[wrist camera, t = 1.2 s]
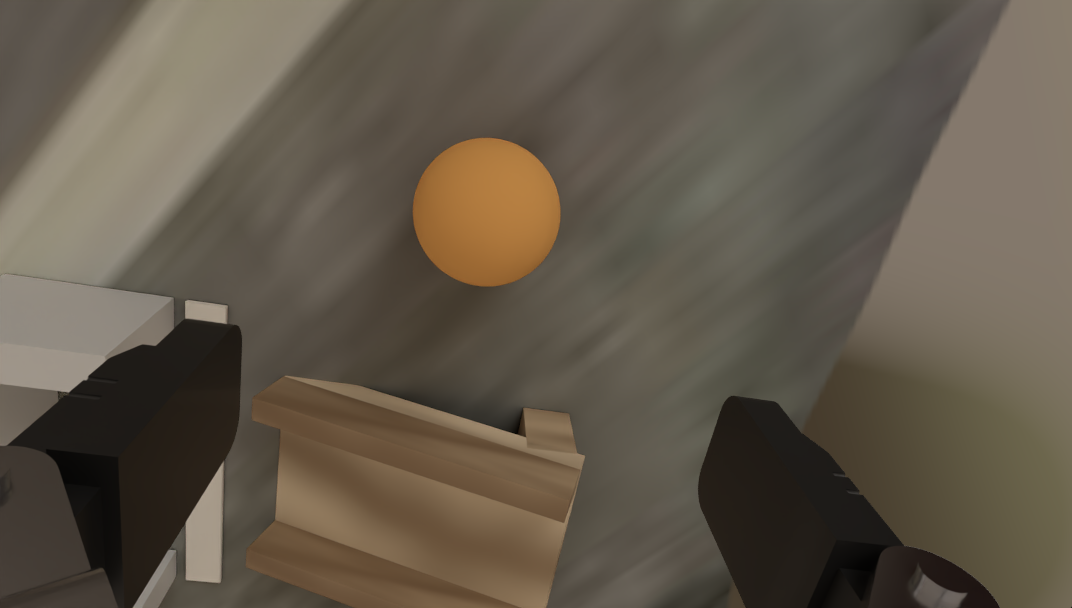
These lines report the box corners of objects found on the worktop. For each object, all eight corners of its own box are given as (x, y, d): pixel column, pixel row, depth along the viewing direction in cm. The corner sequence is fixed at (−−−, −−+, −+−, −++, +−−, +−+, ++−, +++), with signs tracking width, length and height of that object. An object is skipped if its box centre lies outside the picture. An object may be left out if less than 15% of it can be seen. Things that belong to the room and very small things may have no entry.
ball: (429, 116, 24) (415, 137, 19) (565, 141, 24) (583, 168, 20) (412, 248, 26) (395, 296, 21) (540, 268, 26) (550, 319, 22)
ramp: (274, 363, 28) (212, 459, 22) (573, 403, 30) (596, 503, 23) (266, 522, 31) (209, 646, 25) (537, 549, 33) (549, 673, 26)
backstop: (5, 273, 25) (-105, 328, 20) (173, 298, 26) (105, 356, 21) (36, 562, 30) (-47, 659, 25) (176, 575, 31) (121, 671, 26)
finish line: (187, 299, 26) (185, 301, 26) (227, 305, 26) (225, 307, 26) (187, 576, 31) (186, 580, 31) (221, 579, 31) (220, 582, 31)
